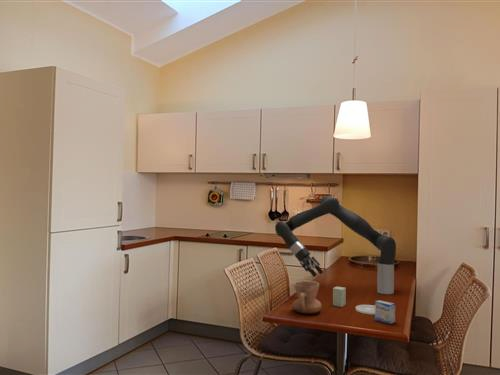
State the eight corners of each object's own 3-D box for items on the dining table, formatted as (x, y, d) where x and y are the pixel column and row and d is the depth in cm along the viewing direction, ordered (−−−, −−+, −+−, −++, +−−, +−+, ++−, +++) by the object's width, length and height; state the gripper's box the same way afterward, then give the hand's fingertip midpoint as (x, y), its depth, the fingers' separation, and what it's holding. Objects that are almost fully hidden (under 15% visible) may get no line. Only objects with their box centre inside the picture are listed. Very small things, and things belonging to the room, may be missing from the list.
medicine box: (374, 320, 192) (374, 301, 192) (379, 318, 195) (379, 299, 195) (390, 324, 187) (390, 305, 187) (395, 322, 190) (395, 303, 190)
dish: (360, 305, 216) (360, 303, 216) (385, 309, 209) (385, 307, 209) (352, 311, 205) (352, 309, 205) (378, 316, 198) (378, 313, 198)
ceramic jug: (298, 305, 215) (298, 278, 215) (325, 308, 209) (325, 280, 209) (286, 315, 199) (285, 286, 199) (315, 319, 193) (315, 289, 193)
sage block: (336, 303, 220) (336, 286, 220) (345, 304, 217) (345, 287, 217) (332, 305, 216) (333, 288, 216) (342, 307, 213) (342, 289, 213)
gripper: (298, 248, 222) (318, 272, 216) (309, 245, 234) (328, 268, 228) (289, 257, 225) (308, 281, 218) (301, 254, 237) (319, 276, 230)
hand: (318, 274), depth 223 cm, fingers open, 8 cm apart
